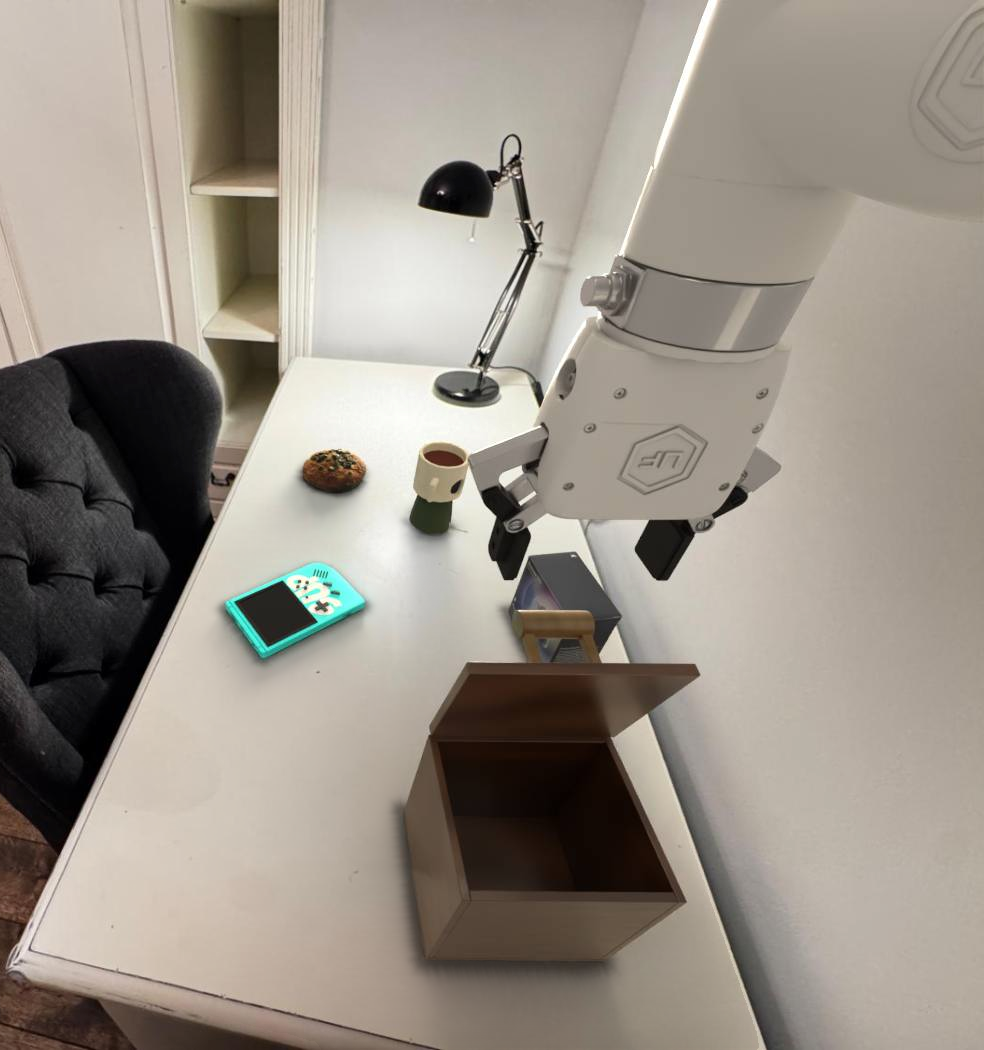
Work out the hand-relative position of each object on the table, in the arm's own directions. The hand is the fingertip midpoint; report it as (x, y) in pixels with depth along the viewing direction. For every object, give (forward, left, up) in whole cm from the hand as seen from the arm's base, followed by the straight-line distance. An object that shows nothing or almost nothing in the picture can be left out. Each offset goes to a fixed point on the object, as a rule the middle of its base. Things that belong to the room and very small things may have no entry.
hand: (575, 565), depth 38 cm
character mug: (+12, -39, -31) cm, 51 cm away
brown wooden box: (-3, +8, -31) cm, 32 cm away
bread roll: (+30, -46, -31) cm, 63 cm away
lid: (-1, +4, -10) cm, 11 cm away
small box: (-6, -22, -31) cm, 38 cm away
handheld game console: (+25, -15, -31) cm, 43 cm away
